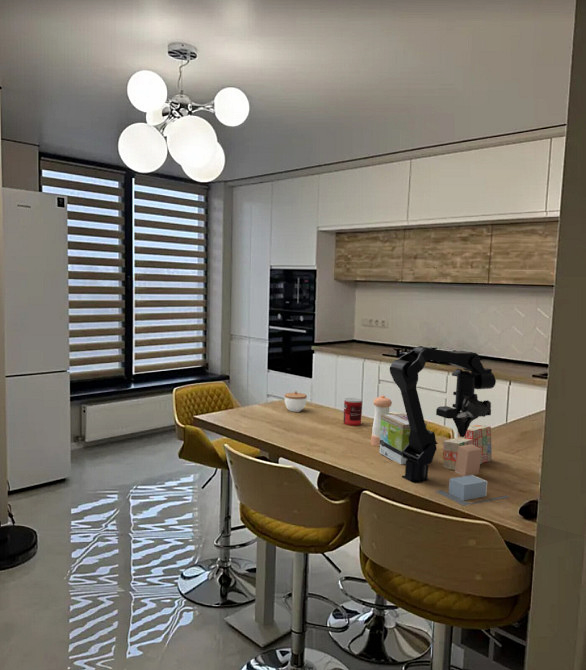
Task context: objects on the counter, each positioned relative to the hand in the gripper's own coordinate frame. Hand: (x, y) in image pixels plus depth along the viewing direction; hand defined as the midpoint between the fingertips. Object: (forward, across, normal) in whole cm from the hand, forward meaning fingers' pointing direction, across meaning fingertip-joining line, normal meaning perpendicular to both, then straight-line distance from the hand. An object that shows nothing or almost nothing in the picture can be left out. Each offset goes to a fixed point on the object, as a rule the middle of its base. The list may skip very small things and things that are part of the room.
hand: (462, 436), depth 185 cm
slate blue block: (+10, -8, -17) cm, 21 cm away
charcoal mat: (+12, -10, -17) cm, 23 cm away
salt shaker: (+13, -5, +38) cm, 41 cm away
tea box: (+13, -8, +20) cm, 26 cm away
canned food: (+13, +2, +71) cm, 72 cm away
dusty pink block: (+12, +2, -1) cm, 12 cm away
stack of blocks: (+12, +10, +6) cm, 17 cm away
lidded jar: (+13, -11, +102) cm, 104 cm away
